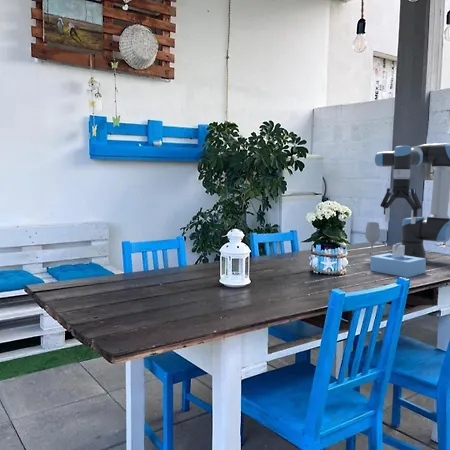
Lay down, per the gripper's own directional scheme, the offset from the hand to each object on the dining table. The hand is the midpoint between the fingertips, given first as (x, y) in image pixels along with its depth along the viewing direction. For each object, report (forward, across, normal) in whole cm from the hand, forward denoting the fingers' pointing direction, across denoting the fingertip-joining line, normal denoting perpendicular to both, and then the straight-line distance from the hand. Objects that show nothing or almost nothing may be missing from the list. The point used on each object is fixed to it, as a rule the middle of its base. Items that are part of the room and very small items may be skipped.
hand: (399, 222), depth 227 cm
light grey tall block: (+23, 0, 0) cm, 23 cm away
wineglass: (+24, -25, +16) cm, 38 cm away
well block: (+24, 0, 0) cm, 24 cm away
